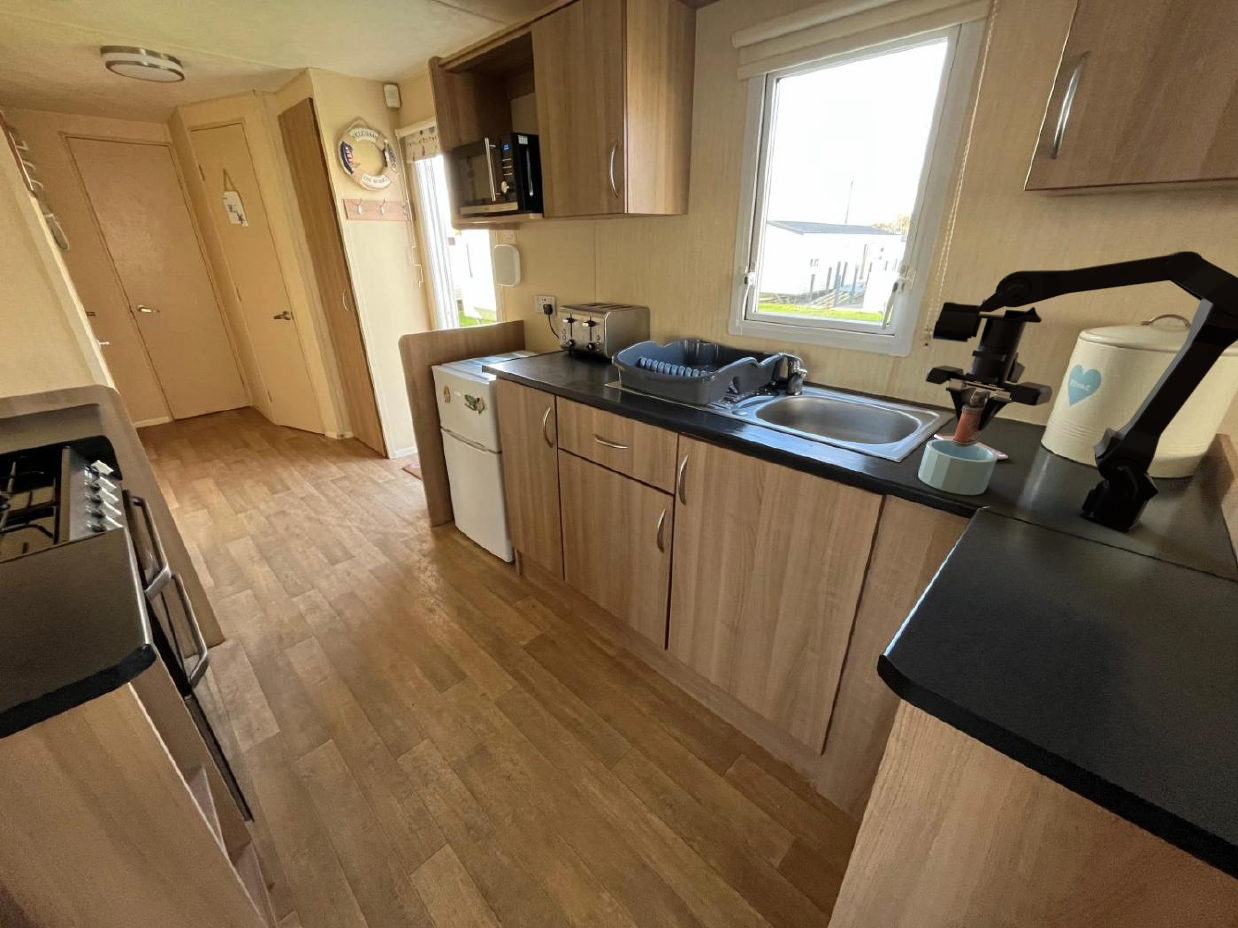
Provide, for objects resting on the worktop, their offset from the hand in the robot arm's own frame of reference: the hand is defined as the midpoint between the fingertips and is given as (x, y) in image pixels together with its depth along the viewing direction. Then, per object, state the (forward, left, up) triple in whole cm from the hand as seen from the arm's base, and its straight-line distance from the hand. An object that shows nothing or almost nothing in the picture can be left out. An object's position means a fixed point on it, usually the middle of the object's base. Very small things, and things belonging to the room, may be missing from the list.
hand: (970, 427), depth 93 cm
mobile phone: (+8, -23, -12) cm, 27 cm away
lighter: (0, 0, -3) cm, 3 cm away
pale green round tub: (0, 0, -12) cm, 12 cm away
